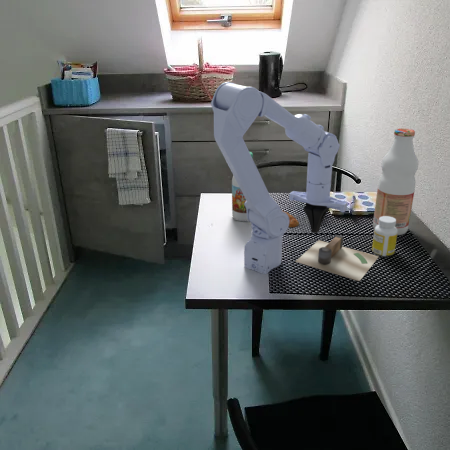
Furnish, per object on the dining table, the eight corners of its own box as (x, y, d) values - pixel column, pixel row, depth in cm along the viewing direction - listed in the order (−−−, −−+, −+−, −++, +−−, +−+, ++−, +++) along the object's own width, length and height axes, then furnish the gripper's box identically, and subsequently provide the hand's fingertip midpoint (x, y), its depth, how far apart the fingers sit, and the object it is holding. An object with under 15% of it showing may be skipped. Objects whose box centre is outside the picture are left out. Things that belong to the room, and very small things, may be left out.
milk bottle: (229, 213, 136) (227, 150, 128) (252, 210, 138) (252, 148, 130) (237, 223, 130) (236, 157, 121) (261, 219, 132) (262, 155, 123)
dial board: (359, 284, 99) (359, 280, 98) (295, 265, 107) (295, 261, 107) (378, 259, 109) (379, 256, 108) (318, 243, 117) (318, 239, 117)
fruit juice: (365, 226, 126) (377, 129, 114) (388, 219, 130) (402, 124, 118) (391, 239, 118) (407, 136, 107) (415, 231, 123) (433, 131, 111)
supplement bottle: (393, 250, 113) (398, 215, 109) (394, 260, 108) (400, 224, 104) (371, 248, 114) (375, 213, 110) (371, 258, 110) (376, 222, 105)
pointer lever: (327, 265, 104) (328, 252, 103) (315, 262, 106) (316, 249, 104) (344, 247, 112) (345, 235, 111) (333, 244, 114) (334, 232, 112)
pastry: (303, 226, 128) (304, 214, 126) (290, 234, 123) (290, 221, 122) (277, 217, 134) (278, 205, 132) (263, 224, 129) (263, 213, 128)
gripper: (354, 181, 105) (348, 232, 111) (299, 171, 113) (296, 219, 119) (342, 190, 100) (337, 243, 106) (286, 179, 108) (284, 229, 113)
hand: (315, 231), depth 112 cm, fingers closed
